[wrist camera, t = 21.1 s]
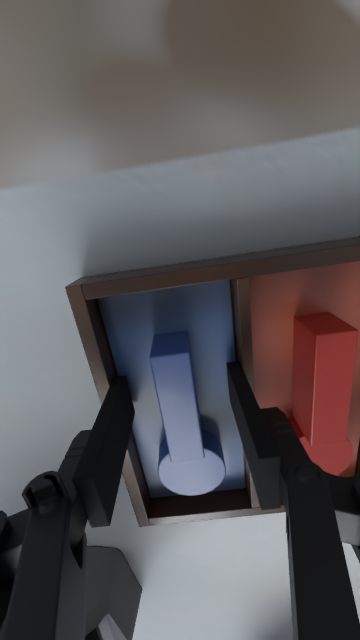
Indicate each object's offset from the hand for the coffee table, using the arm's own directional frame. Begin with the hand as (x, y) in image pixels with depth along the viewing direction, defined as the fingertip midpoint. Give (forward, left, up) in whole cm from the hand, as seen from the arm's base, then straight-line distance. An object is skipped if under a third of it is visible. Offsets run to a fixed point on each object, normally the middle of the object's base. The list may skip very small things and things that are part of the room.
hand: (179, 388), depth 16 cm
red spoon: (-5, +7, 0) cm, 8 cm away
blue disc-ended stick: (+2, +2, 0) cm, 3 cm away
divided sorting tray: (-2, +4, -1) cm, 5 cm away
